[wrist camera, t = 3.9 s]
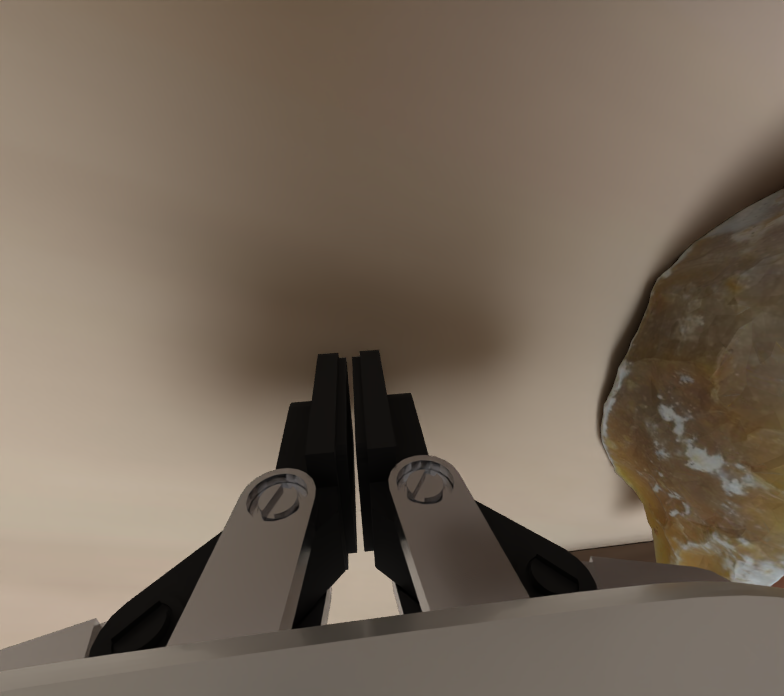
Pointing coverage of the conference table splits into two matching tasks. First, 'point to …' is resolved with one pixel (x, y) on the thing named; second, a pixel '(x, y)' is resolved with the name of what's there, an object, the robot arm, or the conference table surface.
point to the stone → (710, 402)
